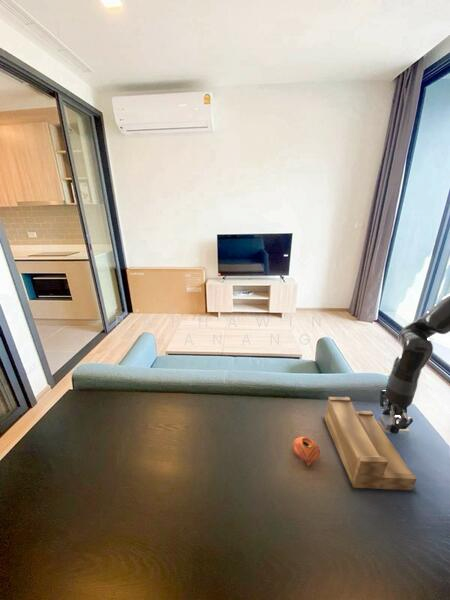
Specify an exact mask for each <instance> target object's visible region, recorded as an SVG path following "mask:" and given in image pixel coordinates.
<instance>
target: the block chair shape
mask: <svg viewBox="0 0 450 600" xmlns="http://www.w3.org/2000/svg"><path fill="white" fill-rule="evenodd" d="M392 421H393V418H392V417H391V415H382V414H379V418H378V419H377V422H378V424H379V425H380V427H381V429H382V430H383V432H384V433H385V434H392V433H391V432H390V429H391V425H392ZM398 421H399V420H396V422H398ZM410 432H411V430H410V429H409V427H408V428H407V429H399V432H398V434H410Z"/></svg>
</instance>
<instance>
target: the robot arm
mask: <svg viewBox="0 0 450 600" xmlns="http://www.w3.org/2000/svg"><path fill="white" fill-rule="evenodd" d="M448 333H450V293H449V294H447V295H446V296H444V297H443V298H442V299H440V300H439V301H438V302H437V303H436V304H435V305H434V306H432V307H431V308H430V309H428V311H427V312H426V313H425V314H424V315H422V316H421V317H419V318H417V319H415V320H413V321H412V322H410V323H409V324H407V325H406V326H404V327H403V328H402V329H401V330H400V331H399V333H398V336H397V339H398V340H397V341H398V343H399V345H400V347H401V348H402V353H401V355H397V357H395V359H394V361H393V365H392V368H391V371H390V373H389V375H388V379H387V382H386V386H385V389H381V390H380V392H379V393H380V394H379V395H380V396H379V397H380V398H379V407H381V408H382V409H381V410H382V413H381V415H391V417H392V418H393V421H392V425H391V429H390V432H391V433H390V434H392V435H397V434H399V433H398V432H399V429H407V428H408V429H409V427H410V426H411V424H412V423H413V422H414V420H413V418H412V417H409V415H408V408H409V406H411V405H412V404H413V400H414V397H415V395H416V391H417V389H418V383H419V379H420V376H421V374H422V369H423V368H424V367H425V366H426V365H427V363H428V362H429V361H430V359H431V357H432V356H433V352H434V345H433V343H432V341H431V340H430V339H429V338H430V337H432V336H433V335H435V334H439V335H446V334H448ZM396 420H399V421H398V422H396Z"/></svg>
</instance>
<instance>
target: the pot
mask: <svg viewBox="0 0 450 600" xmlns="http://www.w3.org/2000/svg"><path fill="white" fill-rule="evenodd" d="M292 449H293V452H294V453H295V455H296V456H297V457H298V458H299V459H300V460H302V461H303V462H305V463H306V466H307V467H309V466H311V464H312V462H315V461H318V459H319V458H320V455H321V450H320V447H319V446H318V444H317V443H316V442H315V441H314V440H312V438H310V437H307V436H299V437H296V438H295V440H294V441H293V443H292Z"/></svg>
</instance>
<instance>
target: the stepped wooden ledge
mask: <svg viewBox="0 0 450 600" xmlns="http://www.w3.org/2000/svg"><path fill="white" fill-rule="evenodd" d="M350 398H351V397H349V396H328V399H327V403H326V409H325V415H324V419H323V420H324V421H325V425H326V426H327V429H328V431H329V434H330V436H331V438H332V441H333V444H334V446H335V448H336V450H337V452H338V453H337V454H338V455H339V457H340V460H341V462H342V464H343V467H344V470H345V471H346V474H347V476H348V479H349V481H350V483H351V486H352V488H355V489H356V488H357V489H375V490H376V489H379V490H400V491H401V490H402V491H403V490H404V491H412V490H413V488H414V487H415V484H416V482H417V477H416V476H415V473H412V472H411V471H410V469H409V467H408V466H407V464H406V463H405V461H404V460H403V458H402V456H401V455H400V454H399V453H398V451H397V449H396V448H395V446H394V445H393V444H392V442H391V441H390V439H389V437H388V436H387V435H386V433H385V432H384V430H383V429H382V427H381V426H380V424H379V423H378V420H376V418H375V417H374V413H373V412H372V411H371V410H356V408H355V407H354V405H353V403H352V402H351V399H350Z"/></svg>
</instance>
